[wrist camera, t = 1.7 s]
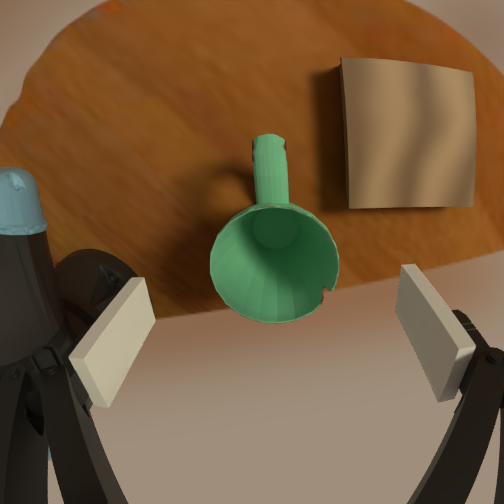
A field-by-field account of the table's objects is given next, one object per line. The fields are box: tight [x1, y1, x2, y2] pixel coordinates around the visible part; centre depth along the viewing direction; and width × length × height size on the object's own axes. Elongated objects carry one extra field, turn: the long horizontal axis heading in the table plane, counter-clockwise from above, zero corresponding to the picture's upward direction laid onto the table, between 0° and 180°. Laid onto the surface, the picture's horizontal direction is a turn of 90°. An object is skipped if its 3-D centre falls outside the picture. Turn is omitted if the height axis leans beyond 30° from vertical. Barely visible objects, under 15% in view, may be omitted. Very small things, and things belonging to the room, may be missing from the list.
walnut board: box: [339, 57, 476, 209], centre depth 27 cm, size 14×14×3 cm
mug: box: [209, 134, 340, 324], centre depth 27 cm, size 15×10×10 cm
